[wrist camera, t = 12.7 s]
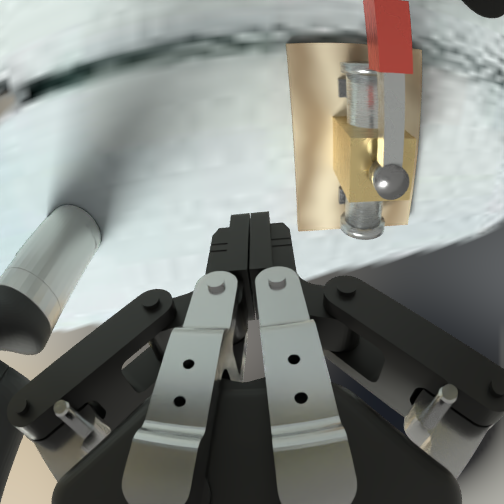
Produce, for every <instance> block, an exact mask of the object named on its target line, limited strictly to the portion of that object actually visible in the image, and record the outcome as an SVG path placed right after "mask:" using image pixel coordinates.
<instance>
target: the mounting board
mask: <svg viewBox="0 0 504 504" xmlns="http://www.w3.org/2000/svg"><path fill="white" fill-rule="evenodd" d="M286 51H287V62H288V73H289V85H290V98H291V111H292V125H293V140H294V157H295V176H296V197H297V223H298V231H313V230H328V229H341V228H340V217H341V215H342V213H343V212H345V204H339V202H338V188H339V187H341V185H340V183H339V181H338V179H337V177H336V175H335V173H334V171H333V120H332V116H347V97H338V80H337V79H346V73H342V72H341V70H340V62H344V61H360V62H369V60H368V45H367V44H354V43H291V44H286ZM412 54H413V74H405V126H404V130H406V131H407V132H408V133H410V134H411V135H412V136H414V137H415V138H416V139H417V140H416V151H415V161H414V170H413V178H412V186H411V193H410V200H398V201H383V209H382V216H383V218H384V220H385V226H393V225H408V219H409V213H410V207H411V200H412V193H413V186H414V179H415V171H416V162H417V152H418V142H419V130H420V115H421V92H422V50H419V49H412Z"/></svg>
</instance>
